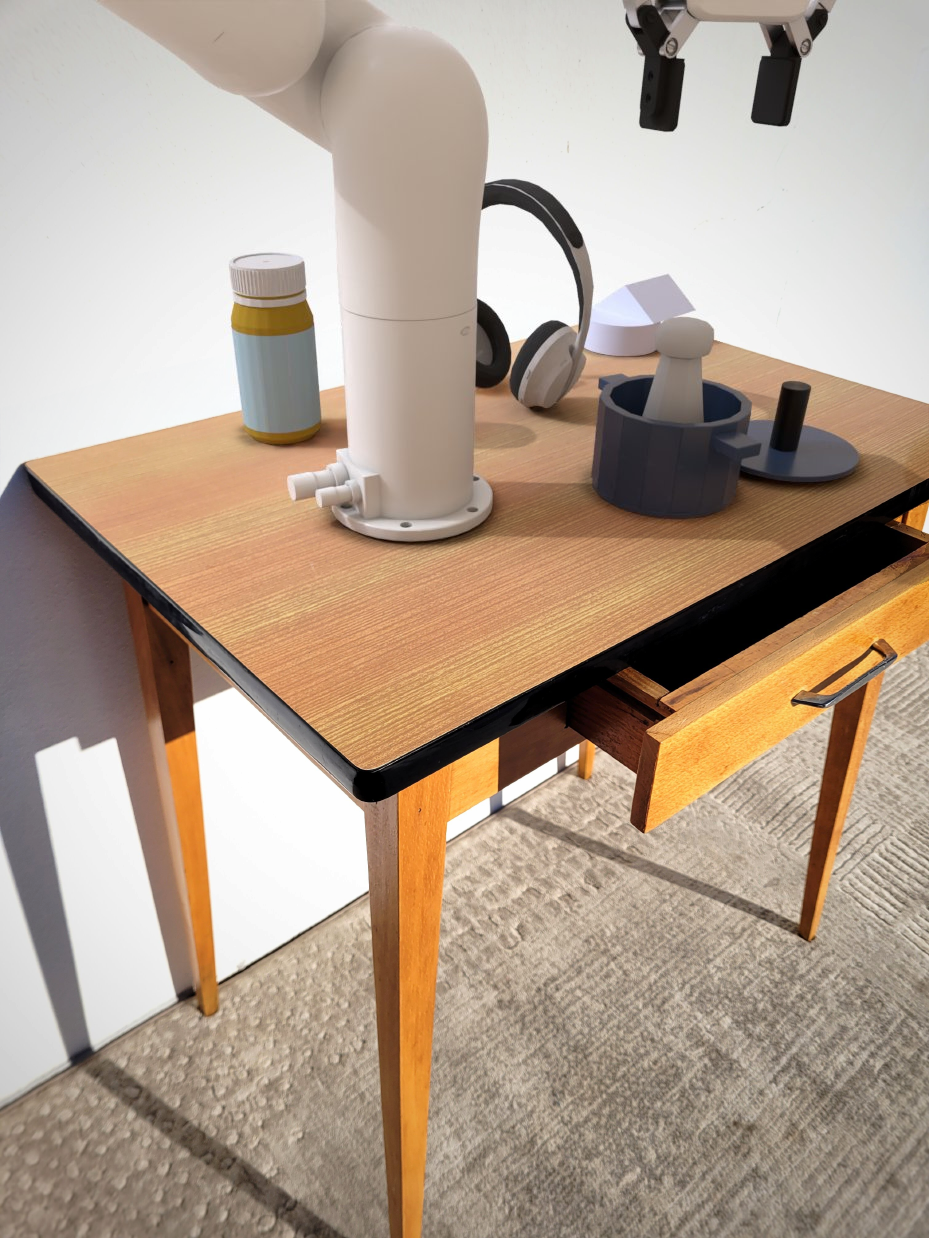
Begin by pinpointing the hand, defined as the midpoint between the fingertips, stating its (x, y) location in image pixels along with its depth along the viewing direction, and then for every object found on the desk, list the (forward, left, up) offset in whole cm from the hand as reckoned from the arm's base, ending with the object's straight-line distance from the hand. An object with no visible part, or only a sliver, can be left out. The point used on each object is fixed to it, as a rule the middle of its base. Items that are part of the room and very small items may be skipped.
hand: (715, 127), depth 61 cm
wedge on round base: (+22, +34, -26) cm, 48 cm away
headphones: (-1, +24, -26) cm, 36 cm away
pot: (0, 0, -26) cm, 26 cm away
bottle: (-24, +25, -26) cm, 44 cm away
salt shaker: (0, 0, -26) cm, 26 cm away
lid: (+13, 0, -26) cm, 29 cm away
